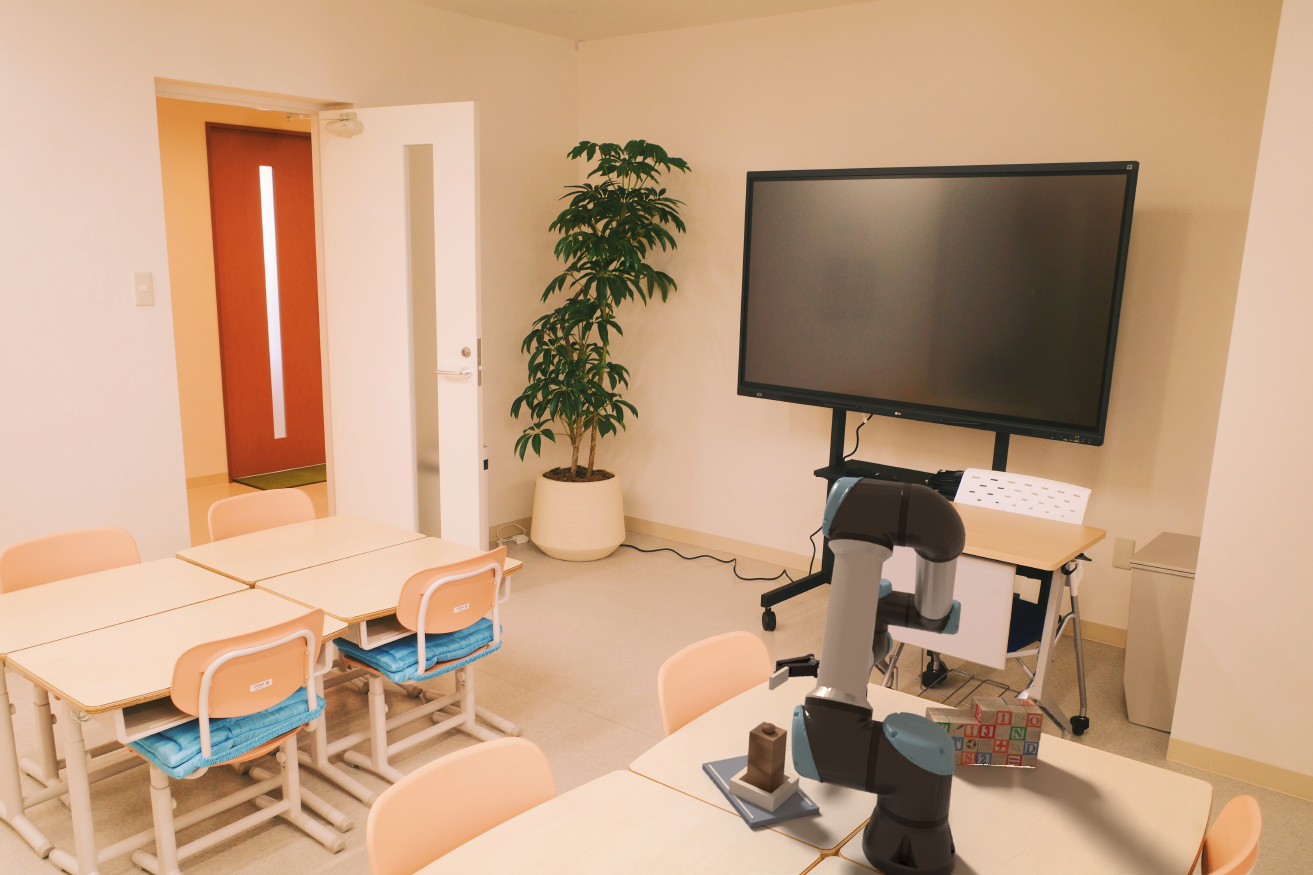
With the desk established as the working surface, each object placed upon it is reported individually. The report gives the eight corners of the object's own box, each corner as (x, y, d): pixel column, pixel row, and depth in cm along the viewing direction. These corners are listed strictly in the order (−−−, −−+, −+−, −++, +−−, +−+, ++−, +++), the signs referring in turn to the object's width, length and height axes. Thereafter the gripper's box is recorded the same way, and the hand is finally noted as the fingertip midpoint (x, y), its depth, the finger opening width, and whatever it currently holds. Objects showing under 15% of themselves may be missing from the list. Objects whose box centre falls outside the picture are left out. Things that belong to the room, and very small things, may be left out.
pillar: (782, 789, 165) (787, 725, 163) (769, 801, 161) (773, 735, 159) (760, 779, 168) (764, 716, 166) (745, 790, 164) (749, 726, 162)
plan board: (818, 812, 160) (819, 806, 160) (750, 827, 155) (750, 822, 155) (765, 755, 178) (765, 750, 178) (702, 768, 173) (702, 762, 173)
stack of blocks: (929, 764, 178) (935, 707, 176) (921, 747, 184) (926, 692, 182) (1036, 769, 178) (1044, 712, 175) (1024, 752, 184) (1031, 697, 181)
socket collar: (798, 789, 165) (799, 776, 165) (772, 811, 158) (773, 799, 158) (755, 770, 171) (756, 758, 171) (728, 791, 164) (729, 779, 163)
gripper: (903, 695, 182) (859, 733, 165) (796, 660, 197) (745, 692, 180) (907, 660, 180) (862, 695, 164) (798, 628, 195) (747, 657, 179)
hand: (801, 693), depth 172 cm, fingers open, 13 cm apart
